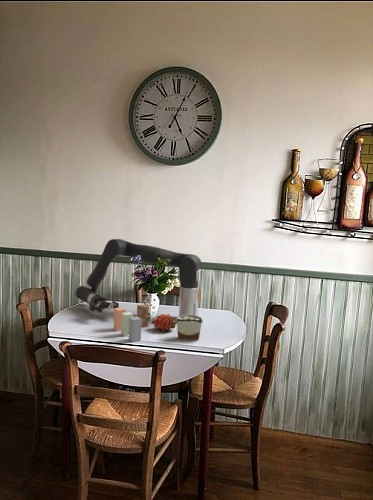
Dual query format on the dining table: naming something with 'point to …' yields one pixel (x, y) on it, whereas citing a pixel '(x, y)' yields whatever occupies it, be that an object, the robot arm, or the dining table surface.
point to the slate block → (134, 329)
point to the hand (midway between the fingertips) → (109, 309)
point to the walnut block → (143, 315)
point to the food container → (188, 326)
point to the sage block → (125, 323)
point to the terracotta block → (118, 317)
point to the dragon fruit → (164, 322)
